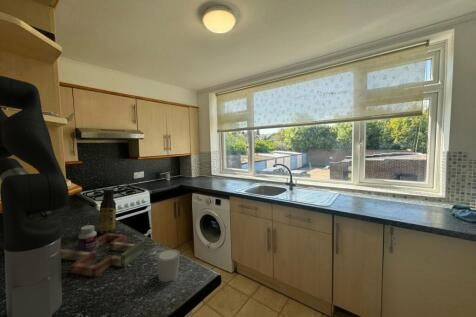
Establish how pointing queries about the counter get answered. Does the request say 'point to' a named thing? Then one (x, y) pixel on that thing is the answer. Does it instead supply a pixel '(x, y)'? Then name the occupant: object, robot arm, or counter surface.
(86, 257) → the trap channel
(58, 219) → the counter surface
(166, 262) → the white cup
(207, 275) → the counter surface
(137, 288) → the counter surface
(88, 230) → the pill bottle
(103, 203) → the sauce bottle
